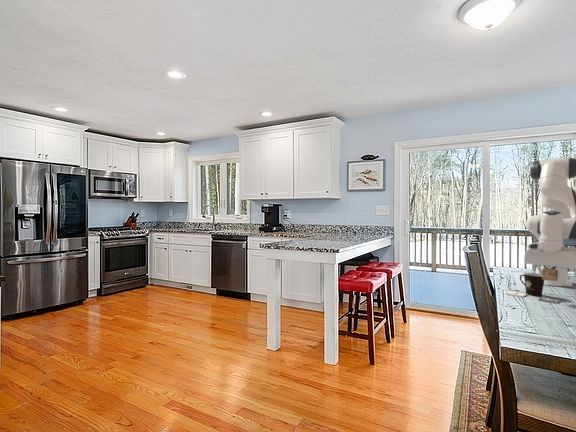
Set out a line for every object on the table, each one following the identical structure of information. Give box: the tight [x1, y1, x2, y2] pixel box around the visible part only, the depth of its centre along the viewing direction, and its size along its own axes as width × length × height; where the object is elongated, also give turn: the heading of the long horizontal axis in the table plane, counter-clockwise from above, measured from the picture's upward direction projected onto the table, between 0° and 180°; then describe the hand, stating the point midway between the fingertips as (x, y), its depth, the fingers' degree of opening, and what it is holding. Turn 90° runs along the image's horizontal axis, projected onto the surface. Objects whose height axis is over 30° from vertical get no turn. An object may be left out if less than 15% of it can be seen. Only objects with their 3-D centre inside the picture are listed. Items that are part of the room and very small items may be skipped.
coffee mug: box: [519, 272, 545, 297], centre depth 178 cm, size 12×9×10 cm
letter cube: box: [542, 269, 558, 281], centre depth 165 cm, size 5×5×5 cm
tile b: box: [505, 291, 528, 298], centre depth 176 cm, size 7×7×1 cm
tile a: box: [537, 296, 561, 304], centre depth 165 cm, size 7×7×1 cm
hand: (549, 275), depth 165 cm, fingers closed on letter cube, 5 cm apart
